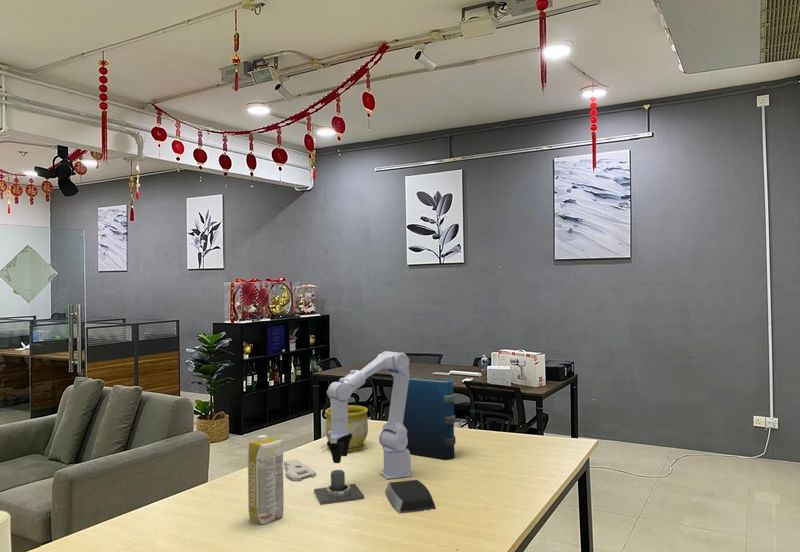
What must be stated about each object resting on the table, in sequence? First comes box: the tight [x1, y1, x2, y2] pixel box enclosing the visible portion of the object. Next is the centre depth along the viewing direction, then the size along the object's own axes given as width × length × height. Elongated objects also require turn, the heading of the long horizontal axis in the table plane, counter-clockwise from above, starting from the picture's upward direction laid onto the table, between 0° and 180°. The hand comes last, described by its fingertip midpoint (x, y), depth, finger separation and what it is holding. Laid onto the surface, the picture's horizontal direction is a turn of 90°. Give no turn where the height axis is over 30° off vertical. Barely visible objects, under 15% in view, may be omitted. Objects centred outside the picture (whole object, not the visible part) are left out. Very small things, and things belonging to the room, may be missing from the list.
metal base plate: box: [313, 483, 365, 505], centre depth 187 cm, size 14×12×2 cm
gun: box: [283, 459, 317, 482], centre depth 211 cm, size 18×3×10 cm
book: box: [403, 375, 457, 461], centre depth 233 cm, size 24×9×30 cm, turn 58°
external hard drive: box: [384, 479, 437, 514], centre depth 182 cm, size 13×19×4 cm
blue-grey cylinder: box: [330, 469, 346, 491], centre depth 187 cm, size 4×4×7 cm
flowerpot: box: [324, 404, 369, 454], centre depth 242 cm, size 18×18×16 cm
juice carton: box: [247, 434, 285, 525], centre depth 170 cm, size 9×8×24 cm
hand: (340, 459), depth 192 cm, fingers open, 7 cm apart
